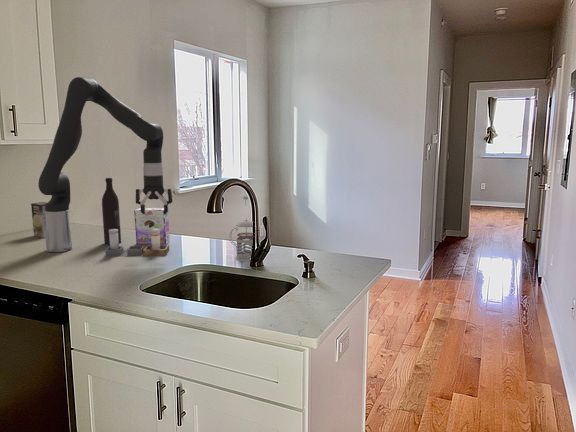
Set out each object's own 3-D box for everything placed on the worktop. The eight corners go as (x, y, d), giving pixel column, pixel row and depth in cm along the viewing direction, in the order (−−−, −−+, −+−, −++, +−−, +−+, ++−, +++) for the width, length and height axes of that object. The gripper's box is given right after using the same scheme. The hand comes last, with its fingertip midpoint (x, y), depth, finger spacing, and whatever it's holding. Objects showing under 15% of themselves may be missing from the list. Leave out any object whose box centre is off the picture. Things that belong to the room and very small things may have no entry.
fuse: (109, 255, 200) (107, 230, 199) (111, 252, 204) (109, 229, 202) (118, 254, 201) (116, 230, 199) (120, 252, 204) (119, 228, 202)
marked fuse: (151, 254, 202) (149, 230, 200) (152, 252, 205) (151, 228, 204) (160, 254, 202) (158, 230, 201) (161, 252, 206) (160, 228, 204)
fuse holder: (104, 258, 198) (104, 250, 197) (110, 253, 206) (109, 245, 206) (141, 257, 199) (141, 249, 199) (145, 252, 208) (145, 244, 207)
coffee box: (33, 235, 242) (30, 203, 239) (45, 233, 247) (42, 201, 244) (44, 237, 237) (41, 204, 234) (56, 235, 242) (53, 203, 240)
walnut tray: (143, 257, 199) (142, 250, 199) (147, 252, 208) (146, 245, 208) (166, 257, 200) (166, 249, 199) (169, 251, 209) (169, 244, 208)
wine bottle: (117, 246, 219) (113, 178, 214) (102, 246, 219) (97, 178, 214) (123, 242, 226) (119, 177, 221) (108, 242, 226) (103, 177, 221)
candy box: (170, 243, 224) (168, 207, 222) (165, 246, 219) (164, 209, 216) (140, 243, 226) (139, 207, 223) (135, 245, 220) (133, 209, 217)
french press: (255, 261, 192) (254, 198, 188) (226, 260, 195) (225, 197, 190) (261, 255, 202) (260, 194, 198) (234, 254, 204) (233, 194, 200)
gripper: (133, 175, 194) (134, 215, 197) (170, 174, 196) (171, 215, 198) (136, 173, 201) (138, 212, 204) (172, 173, 203) (173, 212, 206)
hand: (154, 214), depth 201 cm, fingers open, 8 cm apart
